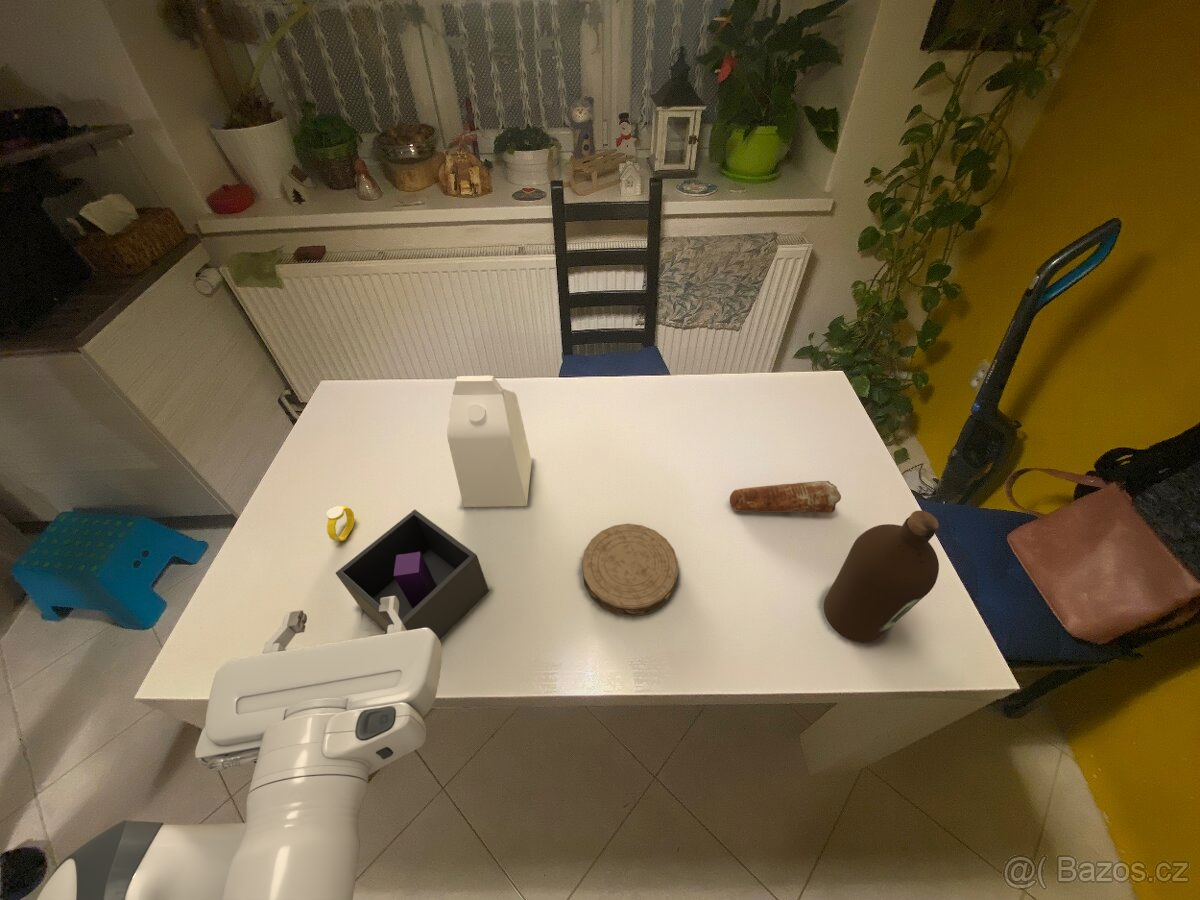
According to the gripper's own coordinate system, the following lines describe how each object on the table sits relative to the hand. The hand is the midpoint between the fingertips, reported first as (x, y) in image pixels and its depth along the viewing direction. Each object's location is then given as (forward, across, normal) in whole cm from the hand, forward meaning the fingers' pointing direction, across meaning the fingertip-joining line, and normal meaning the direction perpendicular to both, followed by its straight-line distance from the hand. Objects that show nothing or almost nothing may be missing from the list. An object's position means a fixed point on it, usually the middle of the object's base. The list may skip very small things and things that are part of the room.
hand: (344, 606), depth 54 cm
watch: (+31, -14, -27) cm, 43 cm away
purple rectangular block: (+15, +1, -26) cm, 30 cm away
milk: (+38, +14, -27) cm, 48 cm away
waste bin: (+15, +1, -27) cm, 30 cm away
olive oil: (0, +69, -26) cm, 73 cm away
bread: (+22, +66, -26) cm, 74 cm away
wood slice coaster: (+14, +35, -26) cm, 46 cm away
